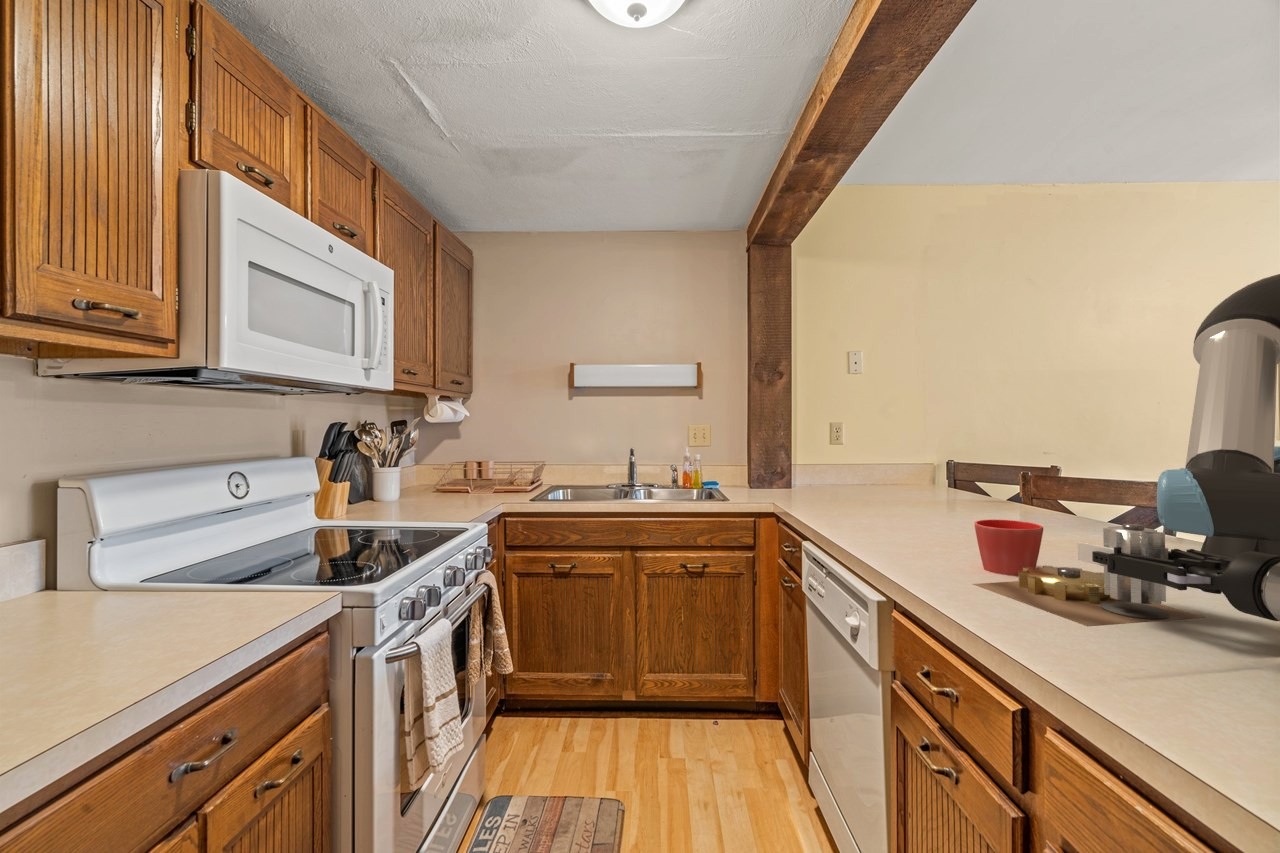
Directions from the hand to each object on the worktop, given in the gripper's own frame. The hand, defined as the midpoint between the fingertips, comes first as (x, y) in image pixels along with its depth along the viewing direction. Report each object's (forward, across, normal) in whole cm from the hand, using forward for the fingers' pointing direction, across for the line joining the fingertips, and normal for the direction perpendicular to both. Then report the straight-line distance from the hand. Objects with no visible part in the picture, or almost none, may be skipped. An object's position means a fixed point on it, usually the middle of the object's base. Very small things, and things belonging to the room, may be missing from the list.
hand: (1101, 550), depth 91 cm
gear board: (+2, -2, -9) cm, 9 cm away
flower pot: (+20, +1, -9) cm, 22 cm away
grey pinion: (-5, 0, -6) cm, 8 cm away
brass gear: (+6, 0, -8) cm, 10 cm away
